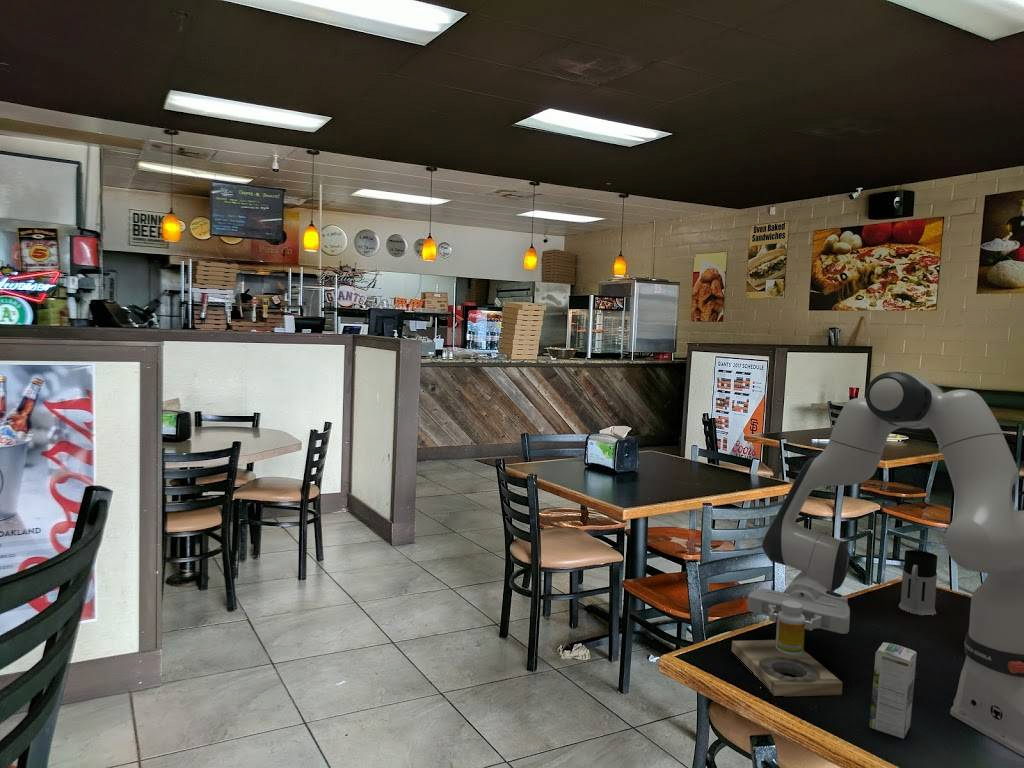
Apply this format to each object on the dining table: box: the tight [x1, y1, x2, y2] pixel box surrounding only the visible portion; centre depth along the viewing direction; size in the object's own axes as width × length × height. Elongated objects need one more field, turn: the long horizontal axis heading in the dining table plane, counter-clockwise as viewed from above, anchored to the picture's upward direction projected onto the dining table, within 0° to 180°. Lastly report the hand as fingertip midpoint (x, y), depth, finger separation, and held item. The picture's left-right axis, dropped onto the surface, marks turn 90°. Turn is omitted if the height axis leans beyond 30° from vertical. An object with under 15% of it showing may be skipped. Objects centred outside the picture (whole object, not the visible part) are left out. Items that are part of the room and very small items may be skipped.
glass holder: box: [898, 549, 938, 616], centre depth 185 cm, size 9×14×15 cm, turn 141°
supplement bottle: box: [775, 600, 806, 655], centre depth 144 cm, size 5×5×10 cm
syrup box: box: [869, 642, 918, 740], centre depth 128 cm, size 6×6×14 cm
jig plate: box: [731, 639, 843, 697], centre depth 149 cm, size 20×14×2 cm
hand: (790, 622), depth 143 cm, fingers closed on supplement bottle, 5 cm apart
